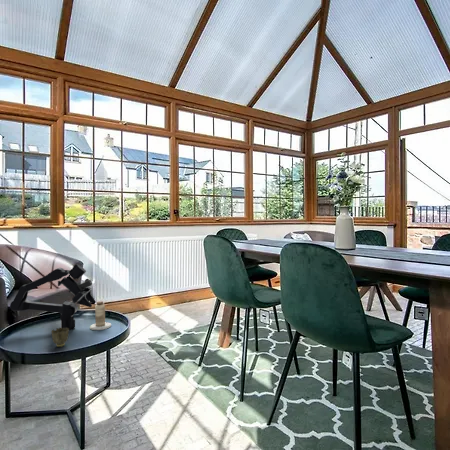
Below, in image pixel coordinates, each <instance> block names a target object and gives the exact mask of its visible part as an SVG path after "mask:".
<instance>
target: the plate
mask: <svg viewBox="0 0 450 450" xmlns="http://www.w3.org/2000/svg"><path fill="white" fill-rule="evenodd" d="M111 327H112V323H111V322H106V321H105V325H104V326H101V327H97V326H96V322H95V323H93V324H91V325H89V329H90V330H92V331H103V330H107V329H109V328H111Z"/></svg>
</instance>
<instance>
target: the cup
mask: <svg viewBox="0 0 450 450" xmlns="http://www.w3.org/2000/svg"><path fill="white" fill-rule="evenodd" d="M69 332H70V330H69V328H67V327H66V328H63V329H62V328H61V326H60V327H59V328H57V327H56V329H51V337H52V341H53V343H54V344H55V345H56V348H63V347H65V346H66V345H65V344H66V343H67V341H68V339H69Z"/></svg>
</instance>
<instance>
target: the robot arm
mask: <svg viewBox="0 0 450 450" xmlns="http://www.w3.org/2000/svg"><path fill="white" fill-rule="evenodd" d="M86 272H87V270H86V269H85V268H84V267H82V266H81V265H79V264H78V263H76V264H74V266H73V267H72V268H71V269H69V270H68V269H65V268H62V267H58V268H55V269H54V270H52V271H50V272H49V273H47V274H46V275H45V276H43V277H40V278H37V279H35V280H33V281H31V282H28V283H27V284H23V285H21V286H20V287H19V289H18V292H17V293H16V295H15V297H14V299H13V301H11V302H10V305H9V307H10V309H11V311H13V312H21V311H23V312H24V311H28V310H29V311H30V310H32V311H40V312H51V313H58V314H60V315H59V320H60V327H61V328H62V329H63V328H66V327H67V328H69V331H72V330H75V328H76V319H75V317H74V315H75V313H76V312H77V311H78V305H82V306H85V307H89V308H92V307H93V305H92V304H97V301H96V300H95V298H94V296H93V295H92V288H91V286H92V285H93V281H92V279H90V278H86V279H84V282H82V283H81V282H77V281H76V280H79V279H81V278H82V276H83V275H84V274H86ZM54 281H57V287H60V286H62V285H63V286H64V287H65V289H67V290H68V291H67V292H69V293H71V294H72V295H74V296H73V297H72V298H71V301H67V300H65V301H64V302H63V303H61V304H59V303H49V302H42V301H33V300H30V299H28V296H29V295H28V294H29V292H30V291H32V290H34V289H36V288H39V287H40V286H42V285H44V284H47V283H50V282H54Z"/></svg>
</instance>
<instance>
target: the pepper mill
mask: <svg viewBox="0 0 450 450" xmlns="http://www.w3.org/2000/svg"><path fill="white" fill-rule="evenodd" d="M94 313H95V315H94V316H95V317H94V318H95V323H96V326H97V327H101V326H104V325H105V322H106V304H105V303H104V301H102V300H100V301H96V303H95V304H94Z"/></svg>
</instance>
